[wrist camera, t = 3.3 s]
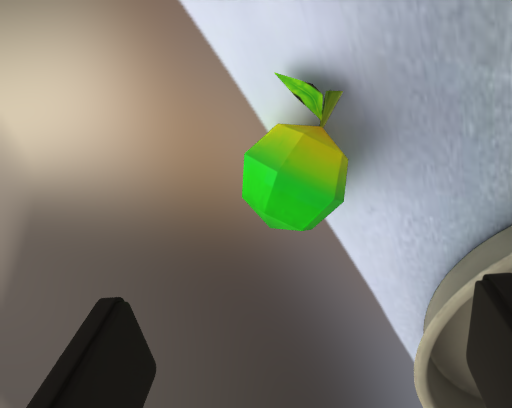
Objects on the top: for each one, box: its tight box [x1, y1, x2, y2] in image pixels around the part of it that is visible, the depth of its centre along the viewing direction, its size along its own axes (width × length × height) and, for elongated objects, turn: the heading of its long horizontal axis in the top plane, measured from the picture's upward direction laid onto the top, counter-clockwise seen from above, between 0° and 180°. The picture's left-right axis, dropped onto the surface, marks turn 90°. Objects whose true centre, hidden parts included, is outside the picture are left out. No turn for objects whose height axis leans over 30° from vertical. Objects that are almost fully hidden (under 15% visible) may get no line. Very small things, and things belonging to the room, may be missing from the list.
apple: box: [242, 73, 348, 231], centre depth 22 cm, size 7×6×9 cm
